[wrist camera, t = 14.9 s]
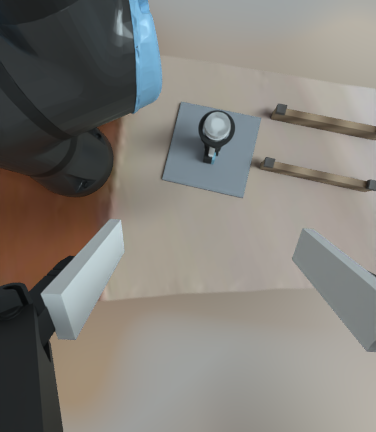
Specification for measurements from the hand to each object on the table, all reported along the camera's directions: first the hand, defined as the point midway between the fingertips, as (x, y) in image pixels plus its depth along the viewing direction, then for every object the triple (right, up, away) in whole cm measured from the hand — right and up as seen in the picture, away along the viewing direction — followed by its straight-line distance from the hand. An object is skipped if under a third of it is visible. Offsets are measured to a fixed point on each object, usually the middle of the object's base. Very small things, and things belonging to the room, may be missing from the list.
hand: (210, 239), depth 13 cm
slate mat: (+3, +15, +22) cm, 27 cm away
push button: (+3, +15, +22) cm, 27 cm away
